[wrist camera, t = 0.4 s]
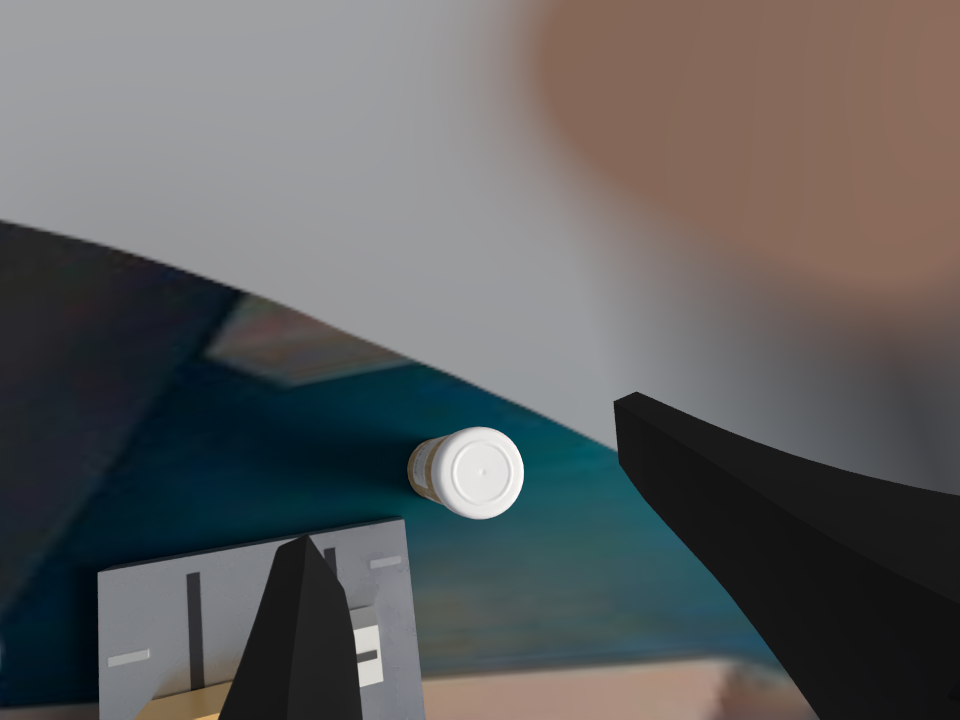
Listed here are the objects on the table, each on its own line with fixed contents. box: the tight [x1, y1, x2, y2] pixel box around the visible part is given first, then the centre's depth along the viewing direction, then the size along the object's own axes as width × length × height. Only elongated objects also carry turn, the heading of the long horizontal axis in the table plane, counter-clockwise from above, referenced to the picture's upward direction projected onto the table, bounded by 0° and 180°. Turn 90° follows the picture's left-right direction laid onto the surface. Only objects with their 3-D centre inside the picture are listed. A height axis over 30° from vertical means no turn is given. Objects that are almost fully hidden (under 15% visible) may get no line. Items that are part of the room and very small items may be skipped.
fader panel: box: [98, 516, 425, 720], centre depth 32 cm, size 15×18×2 cm
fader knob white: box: [349, 605, 383, 687], centre depth 30 cm, size 3×5×4 cm, turn 98°
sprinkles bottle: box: [407, 427, 524, 519], centre depth 31 cm, size 5×5×13 cm
